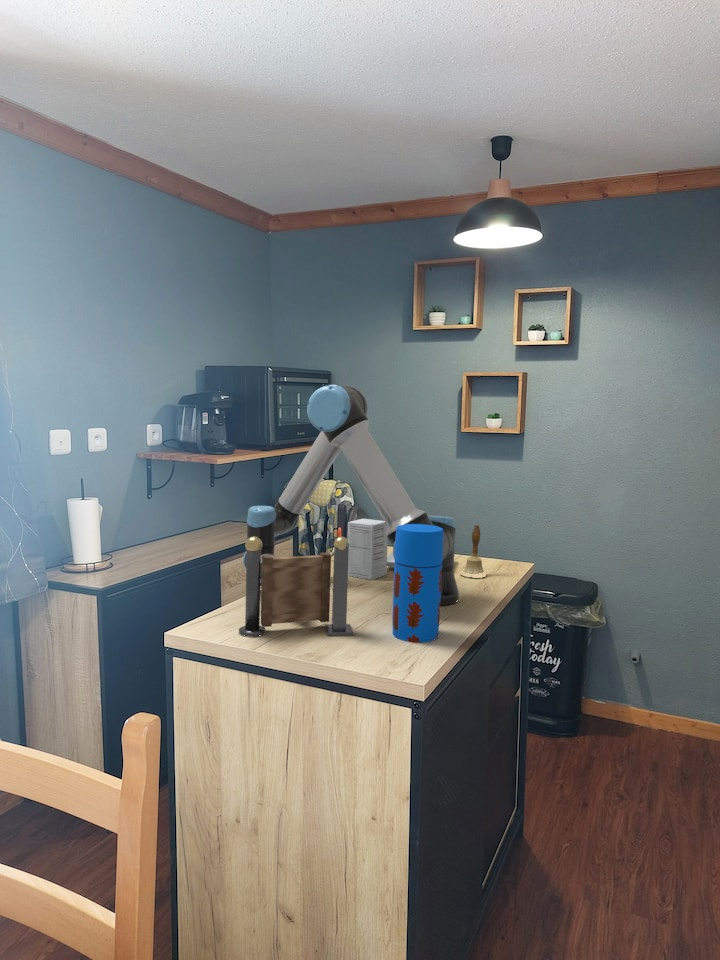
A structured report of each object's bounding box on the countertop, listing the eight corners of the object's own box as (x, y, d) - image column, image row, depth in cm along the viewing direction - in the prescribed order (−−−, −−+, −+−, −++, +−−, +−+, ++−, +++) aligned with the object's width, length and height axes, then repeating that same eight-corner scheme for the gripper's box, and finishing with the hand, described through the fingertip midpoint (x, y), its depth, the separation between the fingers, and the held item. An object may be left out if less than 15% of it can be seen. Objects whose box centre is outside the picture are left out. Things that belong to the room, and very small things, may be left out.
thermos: (436, 644, 159) (441, 533, 156) (388, 640, 161) (392, 530, 158) (440, 629, 170) (445, 525, 167) (395, 625, 172) (400, 522, 169)
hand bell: (467, 571, 230) (470, 522, 229) (491, 575, 226) (494, 525, 224) (455, 575, 224) (457, 525, 222) (479, 580, 219) (482, 528, 217)
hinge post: (269, 629, 165) (271, 535, 163) (260, 638, 159) (262, 539, 157) (244, 627, 166) (246, 533, 164) (234, 635, 161) (236, 538, 158)
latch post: (327, 635, 162) (329, 539, 160) (324, 627, 168) (327, 534, 166) (353, 635, 163) (356, 539, 161) (350, 627, 169) (353, 534, 167)
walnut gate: (263, 627, 162) (264, 557, 161) (260, 623, 165) (261, 555, 163) (329, 621, 168) (331, 554, 166) (325, 618, 170) (327, 552, 169)
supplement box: (387, 574, 222) (389, 521, 220) (372, 580, 214) (374, 525, 212) (361, 570, 227) (363, 517, 225) (345, 575, 219) (347, 521, 217)
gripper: (294, 583, 192) (326, 607, 170) (246, 587, 186) (274, 612, 165) (294, 555, 191) (327, 576, 169) (247, 558, 185) (274, 580, 164)
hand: (301, 594), depth 167 cm, fingers closed
